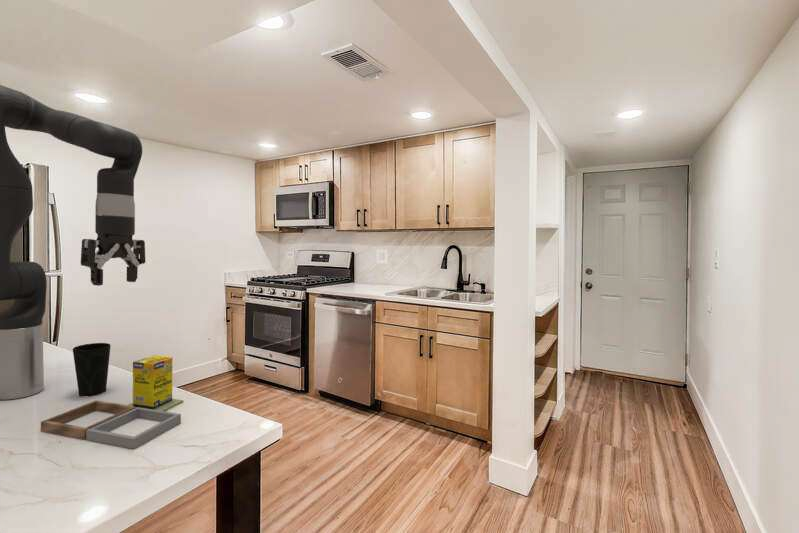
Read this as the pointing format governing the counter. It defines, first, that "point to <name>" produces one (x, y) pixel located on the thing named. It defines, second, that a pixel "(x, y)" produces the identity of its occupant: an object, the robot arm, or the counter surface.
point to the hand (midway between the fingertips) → (115, 283)
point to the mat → (166, 405)
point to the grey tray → (132, 442)
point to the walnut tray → (57, 422)
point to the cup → (91, 368)
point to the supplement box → (152, 381)
